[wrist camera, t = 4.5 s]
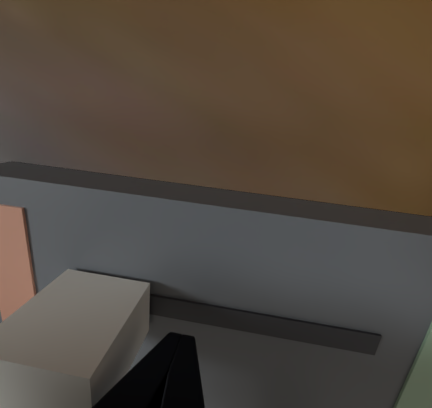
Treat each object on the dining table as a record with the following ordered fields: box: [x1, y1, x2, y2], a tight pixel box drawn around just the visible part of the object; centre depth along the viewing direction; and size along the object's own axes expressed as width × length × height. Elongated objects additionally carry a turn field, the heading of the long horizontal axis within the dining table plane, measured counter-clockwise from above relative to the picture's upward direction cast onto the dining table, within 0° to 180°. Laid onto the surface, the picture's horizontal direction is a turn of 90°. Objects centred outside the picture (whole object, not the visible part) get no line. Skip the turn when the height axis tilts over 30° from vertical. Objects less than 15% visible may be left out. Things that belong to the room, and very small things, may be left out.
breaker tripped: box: [0, 269, 150, 408], centre depth 8 cm, size 3×2×4 cm, turn 84°
